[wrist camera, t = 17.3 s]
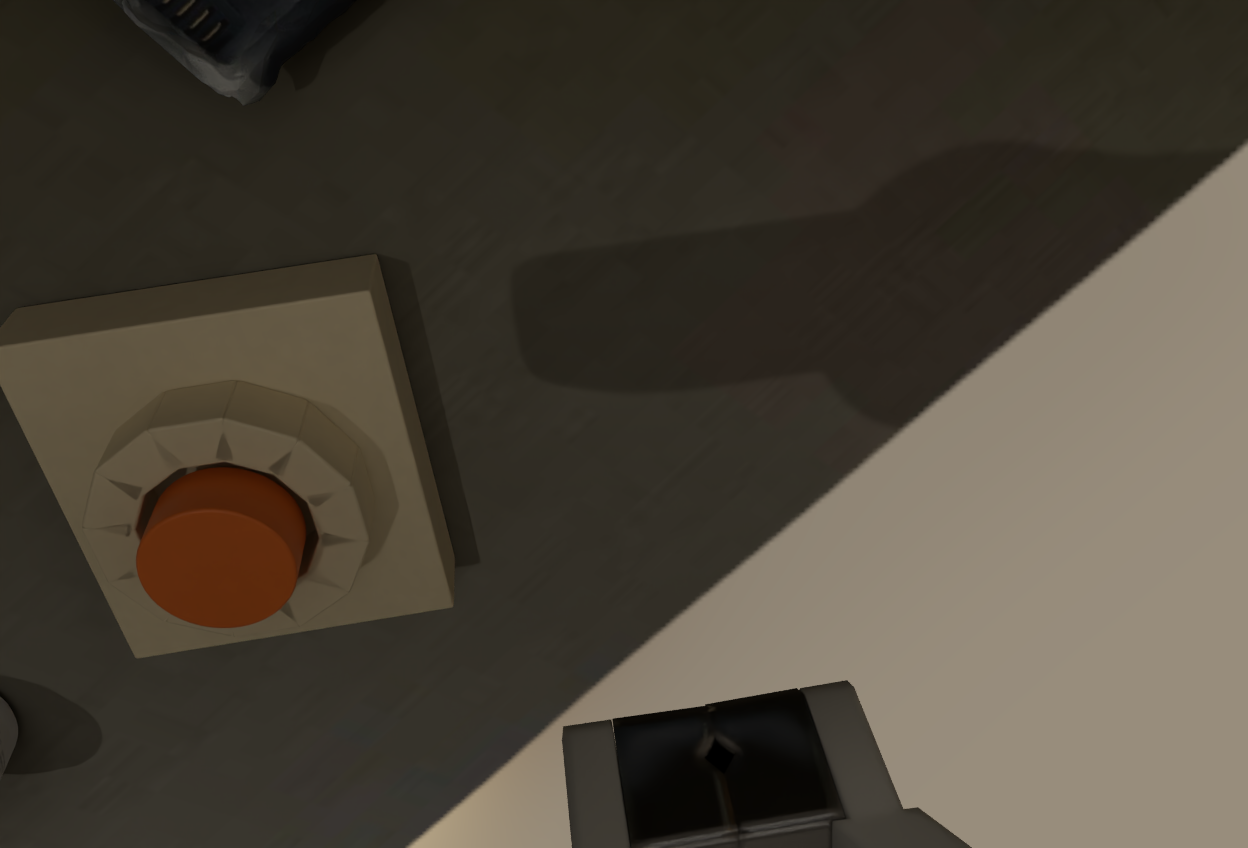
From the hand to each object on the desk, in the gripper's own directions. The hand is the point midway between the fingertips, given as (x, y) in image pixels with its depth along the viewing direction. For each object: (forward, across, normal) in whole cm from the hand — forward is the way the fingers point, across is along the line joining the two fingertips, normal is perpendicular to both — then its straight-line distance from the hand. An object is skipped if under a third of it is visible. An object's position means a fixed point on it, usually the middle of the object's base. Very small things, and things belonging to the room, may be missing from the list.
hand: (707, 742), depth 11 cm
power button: (+15, -10, -7) cm, 19 cm away
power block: (+18, -10, -7) cm, 22 cm away
